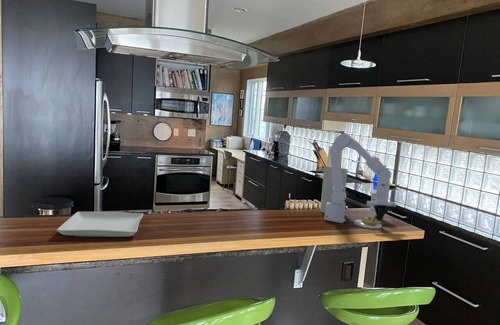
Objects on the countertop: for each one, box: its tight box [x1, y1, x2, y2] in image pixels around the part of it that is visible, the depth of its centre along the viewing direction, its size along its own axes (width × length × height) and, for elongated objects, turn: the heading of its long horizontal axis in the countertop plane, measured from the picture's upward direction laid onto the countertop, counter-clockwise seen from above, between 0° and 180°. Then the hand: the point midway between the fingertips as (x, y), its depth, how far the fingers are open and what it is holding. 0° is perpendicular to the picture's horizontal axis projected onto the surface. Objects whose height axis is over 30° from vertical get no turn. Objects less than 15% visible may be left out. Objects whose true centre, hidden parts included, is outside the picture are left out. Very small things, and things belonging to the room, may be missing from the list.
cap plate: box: [353, 219, 383, 230], centre depth 173 cm, size 13×13×4 cm
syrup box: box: [368, 191, 376, 219], centre depth 188 cm, size 6×6×14 cm
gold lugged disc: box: [361, 215, 382, 224], centre depth 173 cm, size 8×8×4 cm
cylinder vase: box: [319, 166, 348, 214], centre depth 195 cm, size 12×12×25 cm
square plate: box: [56, 211, 144, 238], centre depth 139 cm, size 27×27×4 cm
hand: (379, 220), depth 171 cm, fingers closed
